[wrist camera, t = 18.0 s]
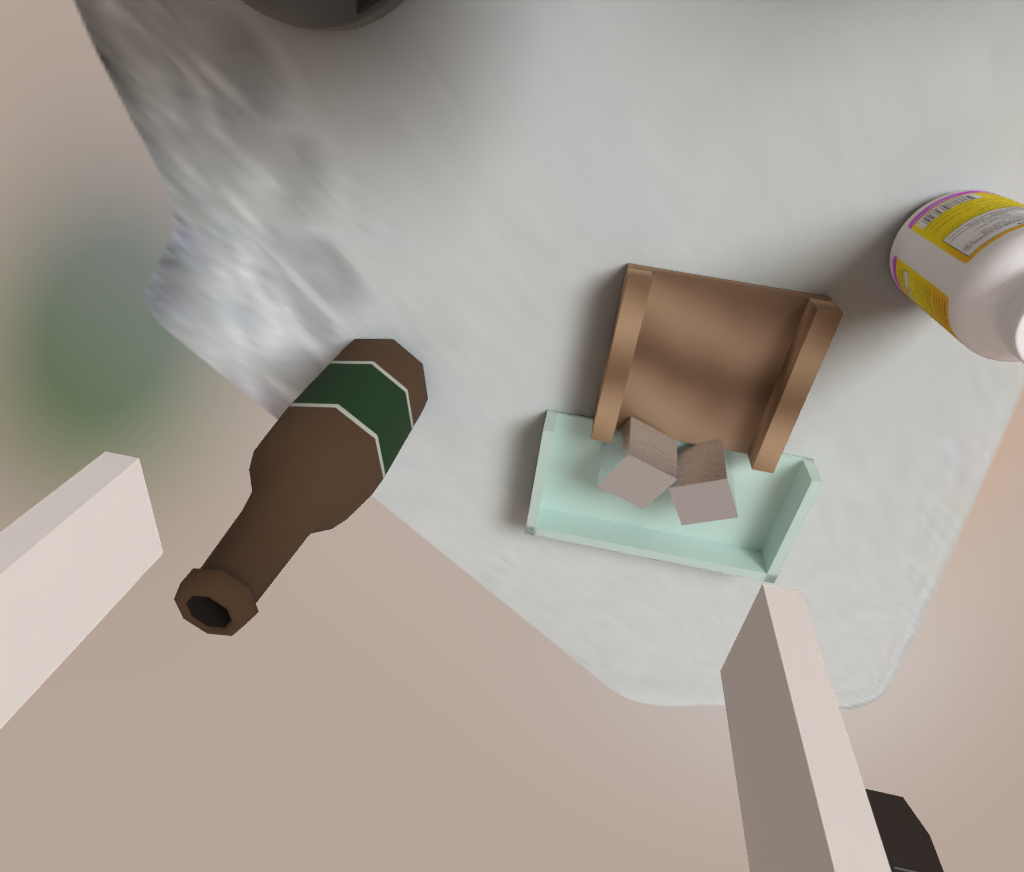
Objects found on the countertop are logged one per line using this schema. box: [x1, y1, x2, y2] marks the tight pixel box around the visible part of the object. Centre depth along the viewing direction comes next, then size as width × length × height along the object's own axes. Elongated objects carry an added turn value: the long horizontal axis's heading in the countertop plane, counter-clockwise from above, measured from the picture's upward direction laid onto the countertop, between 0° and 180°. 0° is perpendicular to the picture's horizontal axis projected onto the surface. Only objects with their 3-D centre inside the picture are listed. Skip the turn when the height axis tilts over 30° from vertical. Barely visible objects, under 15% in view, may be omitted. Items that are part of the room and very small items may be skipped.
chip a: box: [597, 416, 677, 509], centre depth 45 cm, size 4×4×4 cm
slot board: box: [591, 263, 843, 473], centre depth 42 cm, size 12×13×3 cm
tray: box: [525, 410, 823, 583], centre depth 48 cm, size 10×20×3 cm, turn 83°
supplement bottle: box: [890, 190, 1024, 363], centre depth 32 cm, size 7×7×13 cm
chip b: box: [668, 440, 738, 525], centre depth 45 cm, size 4×4×4 cm
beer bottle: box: [174, 339, 428, 636], centre depth 38 cm, size 8×8×24 cm
